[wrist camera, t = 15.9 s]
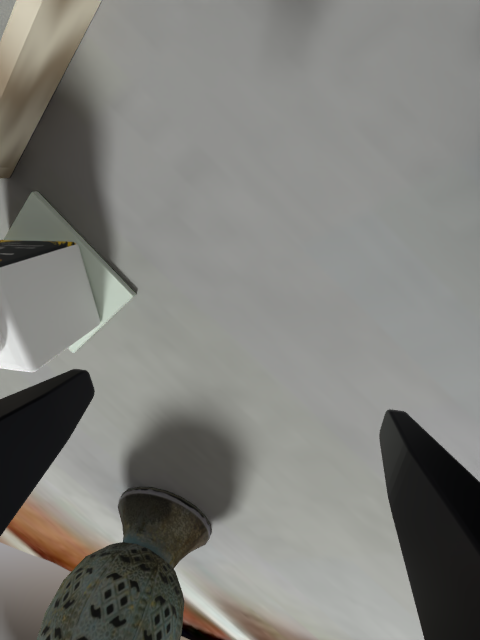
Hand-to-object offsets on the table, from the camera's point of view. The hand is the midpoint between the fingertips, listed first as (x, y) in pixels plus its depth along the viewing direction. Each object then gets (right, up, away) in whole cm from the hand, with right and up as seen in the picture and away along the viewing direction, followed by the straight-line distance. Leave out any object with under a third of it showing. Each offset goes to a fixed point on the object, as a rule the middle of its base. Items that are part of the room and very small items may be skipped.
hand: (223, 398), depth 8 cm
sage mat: (-15, +6, +16) cm, 22 cm away
